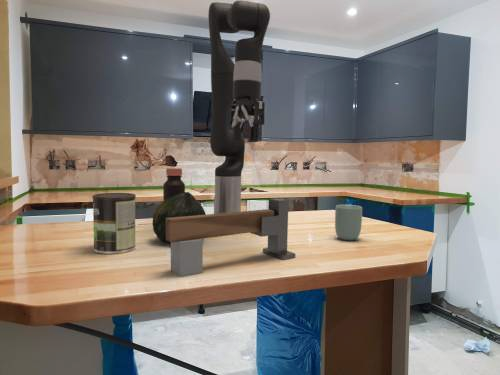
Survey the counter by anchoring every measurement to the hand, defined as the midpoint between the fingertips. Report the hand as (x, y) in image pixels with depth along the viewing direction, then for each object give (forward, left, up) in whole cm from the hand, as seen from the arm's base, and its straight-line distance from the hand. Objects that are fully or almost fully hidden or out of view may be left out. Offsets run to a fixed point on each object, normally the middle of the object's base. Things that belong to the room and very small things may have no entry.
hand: (244, 141), depth 100 cm
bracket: (+14, -2, -28) cm, 32 cm away
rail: (+14, -15, -21) cm, 30 cm away
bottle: (-26, -10, -29) cm, 40 cm away
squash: (-12, -14, -29) cm, 34 cm away
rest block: (+14, -24, -28) cm, 40 cm away
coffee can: (-12, -32, -29) cm, 44 cm away
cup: (+11, +30, -29) cm, 43 cm away
